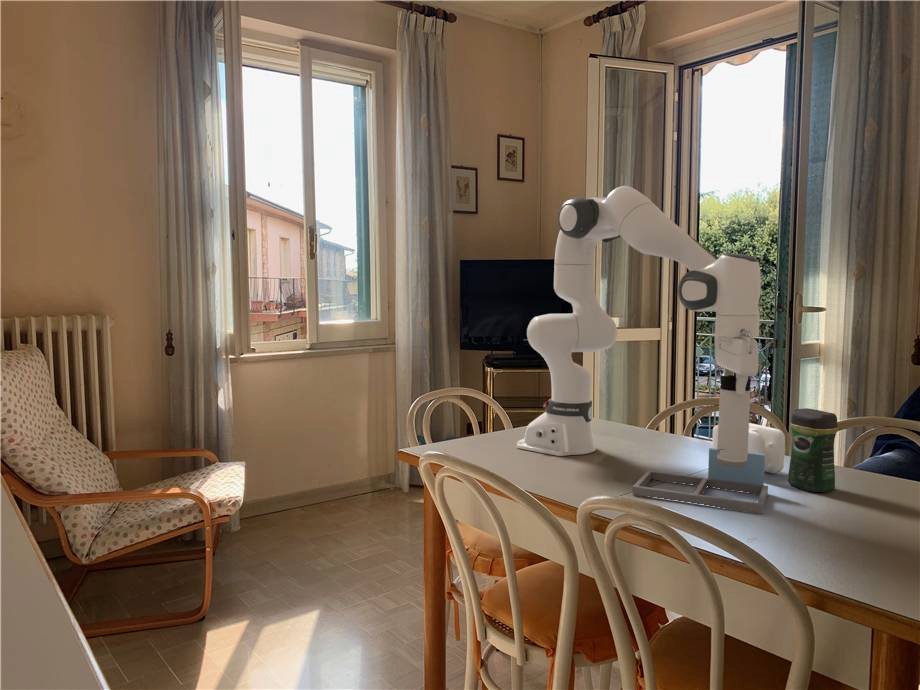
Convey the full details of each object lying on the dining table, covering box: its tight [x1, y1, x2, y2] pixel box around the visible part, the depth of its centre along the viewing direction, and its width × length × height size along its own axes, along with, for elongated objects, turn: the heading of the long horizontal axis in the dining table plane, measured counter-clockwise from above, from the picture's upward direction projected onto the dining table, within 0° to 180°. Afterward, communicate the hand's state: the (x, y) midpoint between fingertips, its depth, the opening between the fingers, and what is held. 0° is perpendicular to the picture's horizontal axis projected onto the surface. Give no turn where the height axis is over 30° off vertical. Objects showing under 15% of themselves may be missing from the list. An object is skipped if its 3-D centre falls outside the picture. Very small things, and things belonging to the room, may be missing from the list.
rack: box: [632, 447, 769, 515], centre depth 157 cm, size 27×16×9 cm, turn 62°
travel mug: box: [717, 375, 752, 467], centre depth 152 cm, size 6×7×20 cm
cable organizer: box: [711, 422, 786, 474], centre depth 176 cm, size 15×11×12 cm
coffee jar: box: [787, 407, 839, 493], centre depth 161 cm, size 10×8×19 cm
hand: (734, 391), depth 151 cm, fingers closed on travel mug, 6 cm apart
